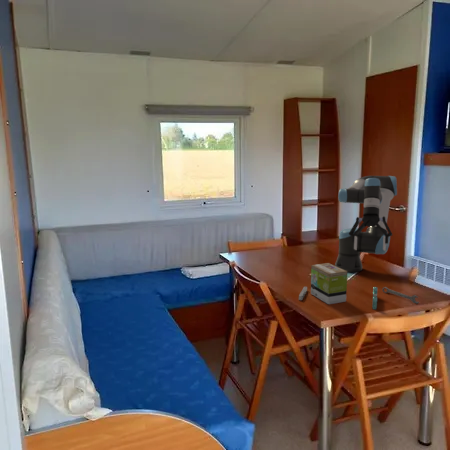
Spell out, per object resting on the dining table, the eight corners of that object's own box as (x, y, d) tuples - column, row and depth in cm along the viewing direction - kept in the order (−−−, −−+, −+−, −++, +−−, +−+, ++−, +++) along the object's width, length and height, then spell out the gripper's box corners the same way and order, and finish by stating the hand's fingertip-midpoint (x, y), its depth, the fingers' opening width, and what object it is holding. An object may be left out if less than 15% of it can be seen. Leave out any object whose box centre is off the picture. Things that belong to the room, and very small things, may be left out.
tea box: (309, 294, 200) (310, 264, 197) (327, 291, 203) (328, 262, 201) (328, 305, 186) (329, 272, 183) (346, 302, 189) (348, 270, 187)
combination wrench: (382, 285, 202) (418, 297, 184) (384, 285, 202) (420, 296, 185) (381, 293, 202) (417, 305, 185) (383, 292, 203) (419, 304, 185)
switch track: (304, 289, 206) (304, 280, 205) (377, 297, 195) (377, 287, 194) (298, 300, 191) (298, 290, 190) (376, 309, 180) (377, 298, 179)
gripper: (344, 206, 213) (341, 247, 207) (397, 205, 200) (395, 248, 195) (348, 211, 219) (345, 251, 214) (399, 209, 206) (398, 251, 201)
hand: (369, 249), depth 204 cm, fingers open, 13 cm apart
